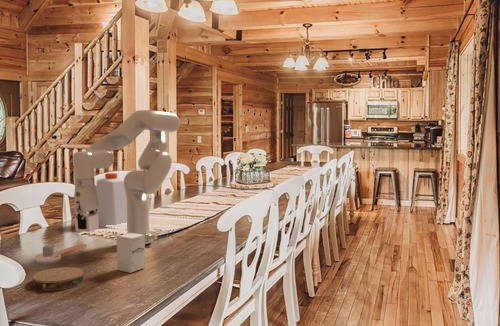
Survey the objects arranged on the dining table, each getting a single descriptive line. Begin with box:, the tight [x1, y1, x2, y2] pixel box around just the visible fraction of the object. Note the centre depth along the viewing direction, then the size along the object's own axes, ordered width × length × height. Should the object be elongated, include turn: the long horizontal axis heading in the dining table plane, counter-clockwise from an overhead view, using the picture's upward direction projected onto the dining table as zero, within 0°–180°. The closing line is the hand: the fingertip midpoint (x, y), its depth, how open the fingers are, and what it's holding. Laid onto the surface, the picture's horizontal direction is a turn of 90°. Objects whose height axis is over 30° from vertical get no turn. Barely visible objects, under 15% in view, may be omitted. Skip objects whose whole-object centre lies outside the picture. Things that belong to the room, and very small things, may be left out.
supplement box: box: [116, 233, 146, 273], centre depth 179 cm, size 7×7×13 cm
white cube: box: [74, 212, 100, 233], centre depth 196 cm, size 6×6×6 cm
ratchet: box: [35, 243, 87, 265], centre depth 198 cm, size 9×26×6 cm, turn 164°
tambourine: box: [32, 266, 84, 291], centre depth 165 cm, size 16×16×3 cm
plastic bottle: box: [95, 172, 127, 227], centre depth 256 cm, size 15×15×28 cm
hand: (87, 226), depth 196 cm, fingers closed on white cube, 6 cm apart
